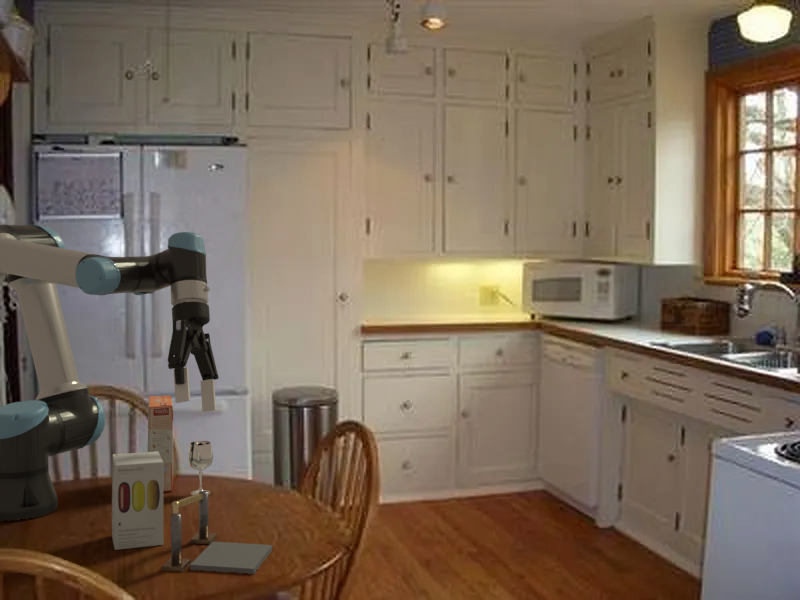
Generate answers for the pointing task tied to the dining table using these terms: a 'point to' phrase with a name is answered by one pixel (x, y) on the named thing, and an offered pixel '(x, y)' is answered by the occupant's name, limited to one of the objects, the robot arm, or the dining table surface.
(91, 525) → the dining table surface
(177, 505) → the small hurdle
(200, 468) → the wineglass
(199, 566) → the mat
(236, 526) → the dining table surface
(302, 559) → the dining table surface
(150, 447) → the cracker box
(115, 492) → the supplement box
